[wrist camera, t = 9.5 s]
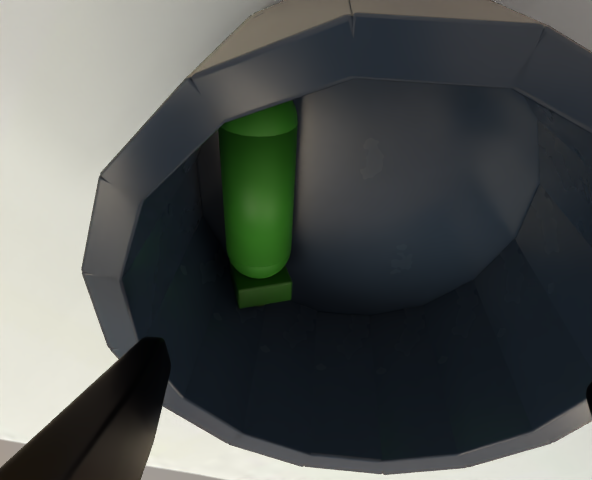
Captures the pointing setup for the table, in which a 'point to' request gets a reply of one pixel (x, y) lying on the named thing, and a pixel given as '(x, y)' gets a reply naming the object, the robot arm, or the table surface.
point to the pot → (370, 238)
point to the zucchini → (259, 202)
